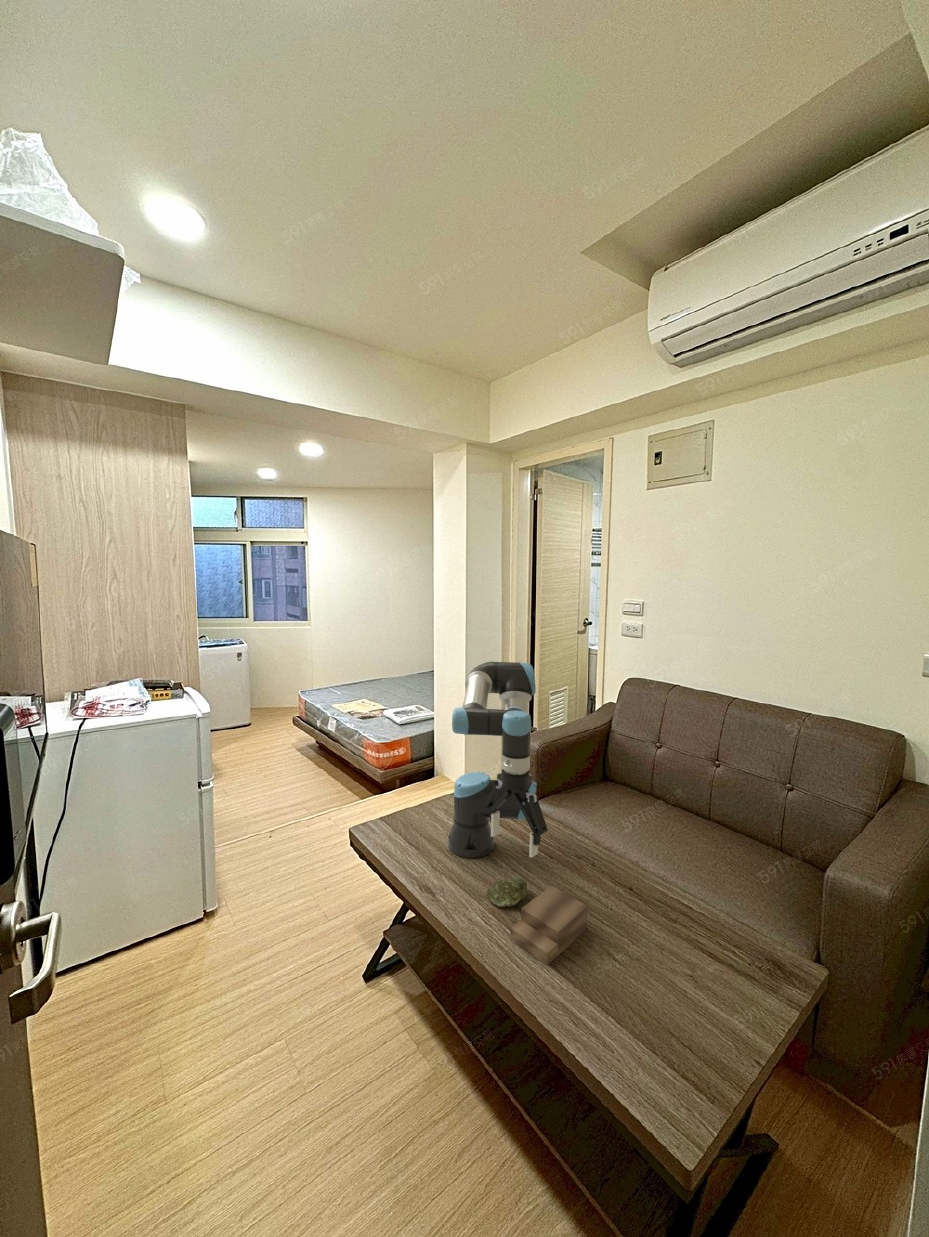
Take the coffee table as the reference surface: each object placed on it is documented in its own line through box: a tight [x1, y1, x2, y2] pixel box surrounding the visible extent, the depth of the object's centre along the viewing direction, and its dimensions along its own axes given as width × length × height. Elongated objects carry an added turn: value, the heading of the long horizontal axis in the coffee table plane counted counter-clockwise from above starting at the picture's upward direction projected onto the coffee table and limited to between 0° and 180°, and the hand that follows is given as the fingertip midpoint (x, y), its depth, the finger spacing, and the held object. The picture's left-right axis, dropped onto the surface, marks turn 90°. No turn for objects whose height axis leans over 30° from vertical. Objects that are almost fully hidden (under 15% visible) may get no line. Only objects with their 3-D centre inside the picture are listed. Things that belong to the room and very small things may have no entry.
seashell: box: [486, 876, 529, 908], centre depth 133 cm, size 10×7×10 cm
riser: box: [509, 885, 589, 966], centre depth 119 cm, size 11×17×6 cm, turn 134°
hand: (513, 844), depth 131 cm, fingers open, 13 cm apart
